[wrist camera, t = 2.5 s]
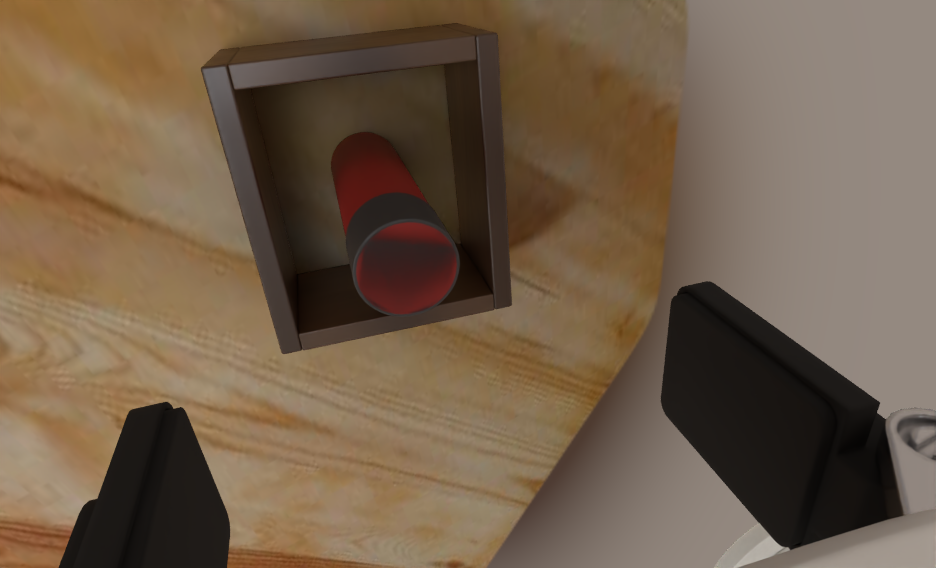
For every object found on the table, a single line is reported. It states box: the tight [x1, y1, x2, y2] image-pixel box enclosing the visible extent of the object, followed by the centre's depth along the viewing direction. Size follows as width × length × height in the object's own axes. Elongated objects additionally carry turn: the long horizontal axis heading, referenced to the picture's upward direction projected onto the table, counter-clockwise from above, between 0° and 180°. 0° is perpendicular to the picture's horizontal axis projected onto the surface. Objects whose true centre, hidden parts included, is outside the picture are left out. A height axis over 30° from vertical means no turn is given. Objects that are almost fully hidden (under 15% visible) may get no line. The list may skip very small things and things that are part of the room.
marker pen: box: [331, 132, 460, 317], centre depth 21 cm, size 3×3×11 cm
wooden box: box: [201, 23, 512, 354], centre depth 24 cm, size 10×11×6 cm
